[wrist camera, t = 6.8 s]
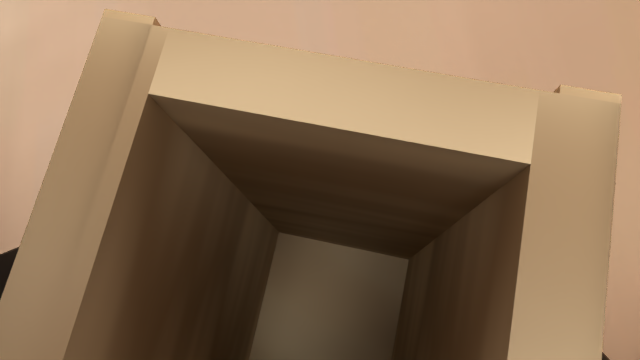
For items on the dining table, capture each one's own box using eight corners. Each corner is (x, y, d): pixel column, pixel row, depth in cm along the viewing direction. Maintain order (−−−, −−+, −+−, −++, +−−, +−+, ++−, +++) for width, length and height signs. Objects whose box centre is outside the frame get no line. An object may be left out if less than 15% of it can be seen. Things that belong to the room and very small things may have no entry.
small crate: (404, 434, 14) (566, 813, 4) (219, 389, 15) (-107, 598, 4) (436, 239, 16) (622, 95, 5) (265, 204, 16) (105, 8, 6)
